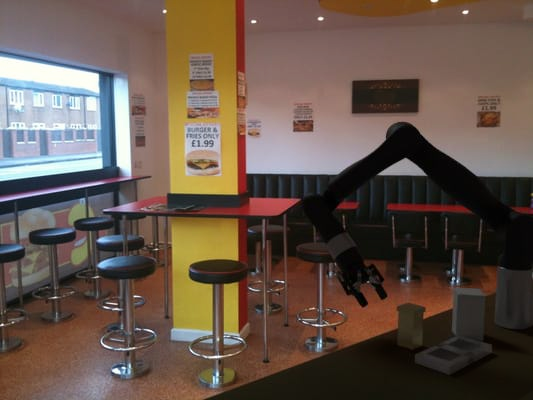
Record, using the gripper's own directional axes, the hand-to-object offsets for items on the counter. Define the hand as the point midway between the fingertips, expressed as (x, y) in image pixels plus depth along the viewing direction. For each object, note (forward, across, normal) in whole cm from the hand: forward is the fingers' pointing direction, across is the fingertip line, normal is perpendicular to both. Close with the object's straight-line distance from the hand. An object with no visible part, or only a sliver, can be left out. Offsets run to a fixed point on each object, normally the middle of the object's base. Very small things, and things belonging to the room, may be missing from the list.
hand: (375, 302), depth 149 cm
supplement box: (+19, +19, -6) cm, 28 cm away
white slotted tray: (+23, 0, -11) cm, 25 cm away
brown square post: (+15, -1, -2) cm, 15 cm away
